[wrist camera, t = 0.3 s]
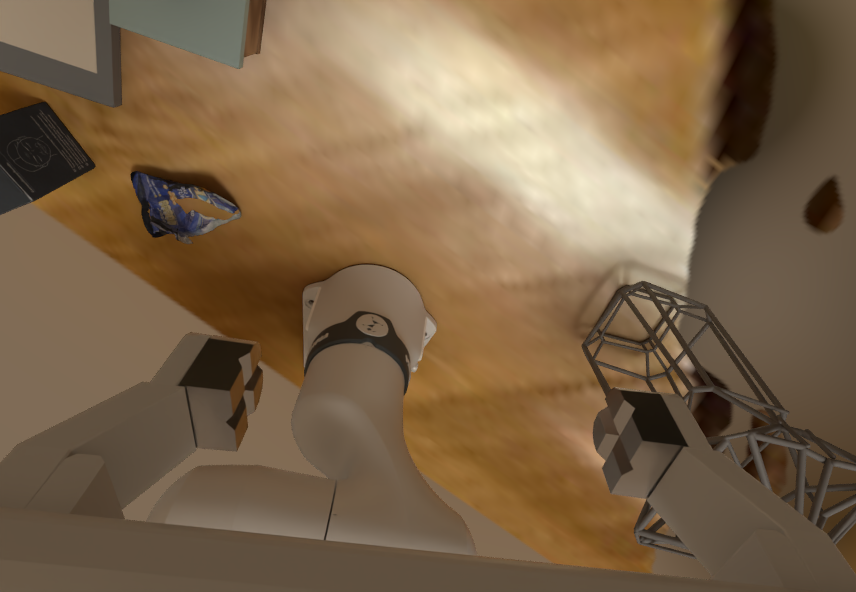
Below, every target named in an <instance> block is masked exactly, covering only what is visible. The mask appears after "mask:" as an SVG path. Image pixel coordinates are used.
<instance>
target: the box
mask: <svg viewBox="0 0 856 592" xmlns="http://www.w3.org/2000/svg"><path fill="white" fill-rule="evenodd" d="M94 168H95V164H94V163H93V162H92V161H91V159H90V158H89V157H88V156H87V154H86V153H85V152H84V150H83V149H82V148H81V147H80V145H79V144H78V143H77V141H76V140H75V139H74V138H73V136H72V135H71V134H70V133H69V131H68V130H67V129H66V127H65V126H64V125H63V124H62V122H61V121H60V120H59V119H58V117H57V116H56V115H55V114H54V112H53V111H52V110H51V108H50V107H49V106H48V105H47V103H46V102H41V103H38V104H35V105H31V106H28V107H25V108H22V109H18V110H15V111H12V112H9V113H6V114H3V115H0V215H1V214H4V213H6V212H9V211H11V210H13V209H16V208H18V207H21V206H23V205H26V204H28V203H31V202H33V201H36V200H37V199H39V198H41V197H43V196H45V195H46V194H48V193H50V192H52V191H54V190H55V189H57V188H59V187H61V186H63V185H65V184H67V183H68V182H70V181H72V180H74V179H76V178H77V177H79V176H81V175H83V174H84V173H87V172H88V171H90V170H92V169H94Z"/></svg>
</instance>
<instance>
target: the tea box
mask: <svg viewBox="0 0 856 592" xmlns="http://www.w3.org/2000/svg"><path fill="white" fill-rule="evenodd" d="M265 8H266V0H250V3H249V12H248V21H247V31H246V40H245V49H244V57H246V56H249V55H252V54H254V53H255V54H259V53H260V48H261V40H262V32H263V24H264V16H265Z"/></svg>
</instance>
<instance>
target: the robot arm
mask: <svg viewBox="0 0 856 592" xmlns="http://www.w3.org/2000/svg"><path fill="white" fill-rule="evenodd" d="M310 300H313V301H314V302H311V301H310ZM436 328H437V323H436V321H435V320H434V319H433V317H432V316H431V315H430V314H429V313H428V312H427V311H426V310H425V307H424V305H423V302H422V299H421V296H420V294H419V292H418V291H417V289H416V288H415V286H414V285H413V284H412V283H411V282H410V281H409V280H408V279H407V278H405V277H404V276H403V275H401V274H399V273H398V272H396V271H394V270H391V269H389V268H386V267H382V266H377V265H357V266H352V267H348V268H345V269H343V270H341V271H339V272H337V273H336V274H334V275H333V276H332V277H330V278H329V279H327V280H325V281H323V282H318V283H313V284H310V285H308V286H306V287H305V288H304V291H303V343H304V377H305V378H304V381H303V384H302V387H301V390H300V393H299V396H298V399H297V401H296V404H295V407H294V410H293V413H292V419H291V426H292V432H293V436H294V438H295V441H296V443H297V445H298V447H299V449H300V451H301V453H302V454H303V456H304V457H305V458H306V460H307V461H308V462H310V463H311V464H312V465H313V466H314V467H315V468H316V469H318V470H319V471H321V472H322V473H323V474H324V475H325V476H326V477H327V478H328V479H327V478H322V477H317V476H311V475H306V474H301V473H296V472H291V471H286V470H281V469H276V468H271V467H266V466H261V465H206V466H198V467H196V468H194V469H192V470H191V471H189V472H187V473H186V474H185V475H183V476H182V477H180V478H179V479H178V480H177V481H176V482H174V483H173V484H172V485H171V486H170V487H169V488H168V489H167V490H166V491H165V492H164V494H163V495H162V496H161V497H160V499H159V500H158V501H157V503H156V504H155V506H154V507H153V509H152V511H151V512H150V514H149V516H148V518H147V521H146V522H145V521H135V520H126V519H125V518H124V515H123V512H122V509H123V508H125V507H126V506H127V505H128V504H130V503H131V502H132V501H133V500H135V499H136V498H137V497H139V496H140V495H141V494H142V493H143V492H145V491H146V490H147V489H149V488H150V487H151V486H152V485H154V484H155V483H156V482H157V481H159V480H160V479H161V478H162V477H164V476H165V475H166V474H167V473H168V472H170V471H171V470H172V469H173V468H175V467H176V466H177V465H179V464H180V463H181V462H182V461H184V460H185V459H186V458H187V457H188V456H190V455H191V454H192V453H194V452H195V451H196V448H202V449H214V450H226V451H237V450H238V448H239V446H240V444H241V441H242V439H243V437H244V435H245V432H246V430H247V428H248V422H247V416H248V415H250V414H251V413H253V412H254V411H255V410H256V407H257V405H258V402H259V399H260V395H261V390H262V384H263V371H262V369H261V368H260V367H259V366H258V365H257V364H258V362H259V360H260V358H261V356H262V355H261V345H260V344H259V343H258V342H255V341H248V340H242V339H235V338H229V337H222V336H215V335H213V336H212V335H206V334H199V333H192V332H190V333H188V334H187V335H185V336H184V337H183V339H182V340H181V341H180V343H179V344H178V345H177V347H176V348H175V349H174V351H173V352H172V353H171V355H170V356H169V357H168V359H167V360H166V362H165V363H164V364H163V366H162V367H161V368H160V370H159V371H158V372H157V374H156V375H155V376H154V378H153V379H152V380H151V382H150V383H149V382H141V383H139V384H137V385H135V386H133V387H131V388H129V389H128V390H125V391H123V392H121V393H119V394H117V395H115V396H113V397H111V398H109V399H107V400H105V401H103V402H101V403H99V404H97V405H96V406H93V407H91V408H89V409H87V410H85V411H83V412H81V413H79V414H77V415H75V416H73V417H71V418H69V419H67V420H65V421H63V422H61V423H59V424H57V425H55V426H53V427H51V428H49V429H47V430H45V431H43V432H41V433H39V434H37V435H35V436H33V437H31V438H29V439H27V440H25V441H23V442H21V443H19V444H17V445H16V446H15V447H14V448H13V450H12V451H11V452H10V453H9V454H8V455H7V456H6V457H5V458H4V459H3V460H2V461H1V462H0V592H856V574H855V573H854V571H853V570H852V569H851V567H850V566H849V564H848V563H847V561H846V560H845V559H844V557H843V556H842V554H841V553H840V552H839V550H838V549H837V547H836V546H835V544H834V543H833V541H832V540H831V539H830V537H829V536H828V535H827V534H826V533H825V532H823V531H822V530H821V529H820V528H818V527H817V526H816V525H814V524H813V523H812V522H810V521H809V520H808V519H806V518H805V517H804V516H803V515H801V514H800V513H799V512H798V511H796V510H795V509H793V508H792V507H791V506H790V505H788V504H787V503H786V502H785V501H783V500H782V499H781V498H779V497H778V496H777V495H775V494H774V493H773V492H772V491H770V490H769V489H768V488H766V487H765V486H764V485H763V484H761V483H760V482H759V481H757V480H756V479H755V478H753V477H752V476H751V475H750V474H748V473H747V472H746V471H744V470H743V469H742V468H741V467H739V466H738V465H737V464H735V463H734V462H733V461H731V460H730V459H729V458H728V457H726V456H725V455H724V454H722V453H721V452H720V451H713V450H712V448H711V446H710V444H709V443H708V441H707V439H706V438H705V436H704V434H703V433H702V431H701V429H700V427H699V426H698V424H697V422H696V421H695V419H694V417H693V416H692V414H691V412H690V411H689V409H688V407H687V405H686V404H685V402H684V400H683V399H682V398H681V397H680V396H679V395H677V394H670V393H661V392H649V391H641V390H633V389H624V388H616V387H614V388H612V389H611V390H610V391H609V392H608V394H607V396H606V398H605V400H606V403H607V405H608V407H606V408H604V409H603V410H601V411H600V412H598V414H597V417H596V419H595V421H594V427H593V440H594V445H595V448H596V451H597V453H598V454H599V455H600V456H601V457H602V458H604V459H605V460H606V462H605V463H604V465H603V467H602V469H603V472H604V475H605V478H606V481H607V484H608V487H609V490H610V493H611V494H616V495H623V496H630V497H637V498H644V499H648V500H647V502H648V503H649V504H650V505H651V506H652V507H653V509H654V510H655V511H656V512H657V513H658V514H659V515H660V517H661V518H662V519H663V520H664V521H665V522H666V524H667V525H668V526H669V527H670V528H671V529H672V530H673V532H674V533H675V534H676V535H677V536H678V537H679V539H680V540H681V541H682V542H683V543H684V544H685V546H686V547H687V548H688V549H689V550H690V551H691V552H692V553H693V555H694V556H695V557H696V558H697V559H698V561H699V562H700V563H701V564H702V565H703V566H704V567H705V569H706V570H707V571H708V572H709V573H710V574H711V576H712V577H711V578H710V579H709V580H707V579H698V578H689V577H679V576H669V575H659V574H650V573H640V572H630V571H621V570H611V569H601V568H591V567H582V566H572V565H562V564H553V563H543V562H532V561H522V560H513V559H503V558H494V557H483V556H477V551H476V547H475V543H474V540H473V538H472V535H471V533H470V531H469V529H468V527H467V525H466V523H465V522H464V520H463V519H462V517H461V516H460V515H459V514H458V513H457V512H456V511H454V510H453V509H452V508H451V507H449V506H448V505H447V504H446V503H445V502H444V501H443V500H442V499H441V498H439V496H438V495H437V494H436V493H435V492H434V491H433V490H432V489H431V488H430V486H429V485H428V483H427V482H426V481H425V480H424V479H423V477H422V475H421V474H420V472H419V470H418V469H417V467H416V465H415V463H414V462H413V460H412V458H411V456H410V453H409V451H408V448H407V446H406V442H405V439H404V433H403V397H404V395H405V393H406V391H407V388H408V384H409V381H410V378H411V374H410V373H411V371H412V372H415V371H416V370H417V367H418V363H417V362H418V361H420V360H421V359H422V355H423V348H424V347H425V346H426V344H427V343H428V341H429V340H430V339H431V337H432V336H433V335H434V333H435V332H436ZM425 332H426V333H425Z"/></svg>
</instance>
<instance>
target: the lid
mask: <svg viewBox="0 0 856 592" xmlns="http://www.w3.org/2000/svg"><path fill="white" fill-rule="evenodd" d="M249 3H250V0H109V18H110V24H112V25H115V26H118V27H121V28H123V29H126V30H129V31H132V32H135V33H138V34H141V35H143V36H146V37H149V38H152V39H155V40H158V41H160V42H163V43H166V44H169V45H172V46H175V47H178V48H180V49H183V50H186V51H189V52H192V53H195V54H197V55H200V56H203V57H206V58H209V59H212V60H214V61H217V62H220V63H223V64H226V65H229V66H232V67H234V68H237V69H240V68H242V67H243V59H244V49H245V40H246V31H247V21H248V12H249Z"/></svg>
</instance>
